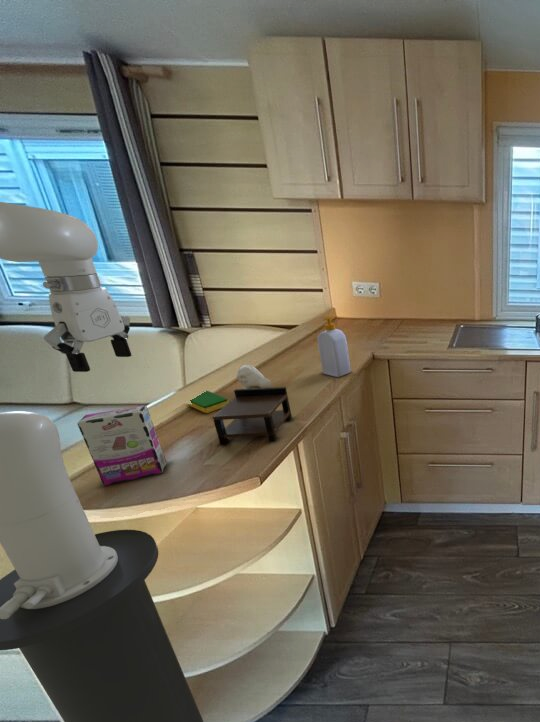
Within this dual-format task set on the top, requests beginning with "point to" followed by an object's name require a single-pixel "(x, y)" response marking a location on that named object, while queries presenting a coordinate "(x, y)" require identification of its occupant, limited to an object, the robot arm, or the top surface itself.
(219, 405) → the dish sponge
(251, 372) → the white rounded lump
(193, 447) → the top surface
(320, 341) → the soap bottle
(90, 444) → the candy bar box
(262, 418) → the rack
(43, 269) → the robot arm
